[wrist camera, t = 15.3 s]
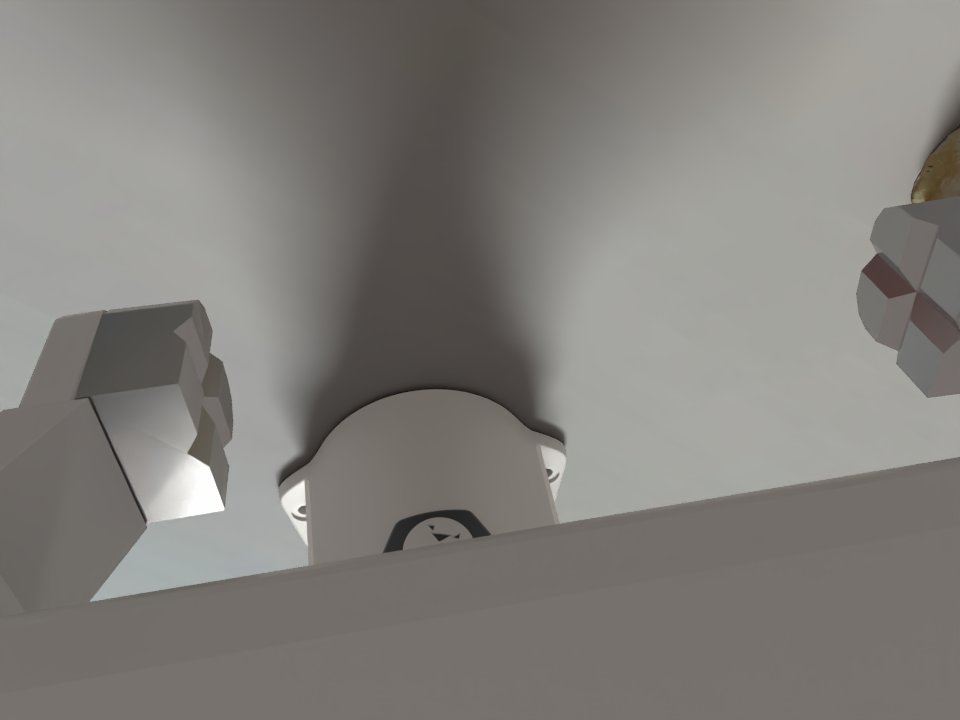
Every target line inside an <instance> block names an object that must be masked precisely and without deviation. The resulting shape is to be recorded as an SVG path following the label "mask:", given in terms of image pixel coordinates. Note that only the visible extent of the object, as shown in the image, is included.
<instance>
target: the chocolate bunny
mask: <svg viewBox="0 0 960 720" xmlns="http://www.w3.org/2000/svg"><path fill="white" fill-rule="evenodd" d="M957 196H960V126H959V127H958V129H957V130H955V131H953V132H952V133H951V134H949V135H948V136H947V138H946V139H945V140H944V141H943V142H942V143H941V144H940V146H938V147H937V148H936V150H935V151H934V152H933V153H932V154H931V155H930V156H929V157H928V159H927V160H926V162H925V164H924V167H923V168H922V171H921V173H920V175H919V176H918V178H917V180H916V182H915V184H914V187H913V191H912V194H911V202H912V204H914V203H920V202H926V201H932V200H939V199H945V198H951V197H957Z"/></svg>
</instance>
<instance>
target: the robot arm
mask: <svg viewBox="0 0 960 720" xmlns="http://www.w3.org/2000/svg"><path fill="white" fill-rule="evenodd" d="M870 241H871V243H872V245H873V247H874V248H875V250H876V252H877V254H876V255H875V257H874V258H873V259H872V260H871V261H870V262H869V263H868V264H867V265H866V266H865V267H864V268H863V270H862V271H861V275H860V279H859V284H858V288H857V293H856V296H857V304H858V312H859V316H860V318H861V320H862V322H863V325H864V327H865V329H866V330H867V331H868V332H869V334H870V335H871V336H872V337H873V338H874V339H875V341H876V342H879V343H881V344H883V345H886V346H888V347H890V348H893V349H895V350H897V351H898V355H897V362H896V364H897V365H898V366H899V367H900V368H901V369H902V371H903V372H904V373H905V374H906V375H907V376H908V377H909V378H910V379H911V380H912V381H913V383H914V384H915V385H916V386H917V387H918V388H919V389H920V390H921V391H922V392H923V393H924V395H925V396H926V397H927V398H930V397H938V396H945V395H953V394H960V196H957V197H951V198H945V199H939V200H932V201H926V202H920V203H914V204H908V205H902V206H896V207H890V208H884V209H883V210H882V212H881V213H880V215H879V216H878V218H877V219H876V221H875V223H874V227H873V230H872V234H871V237H870ZM212 332H213V330H212V327H211V325H210V322H209V319H208V316H207V313H206V310H205V307H204V306H203V305H202V304H201V302H200V301H199V300H191V301H182V302H174V303H165V304H157V305H148V306H139V307H131V308H122V309H113V310H109V311H105V310H101V311H94V312H88V313H81V314H74V315H68V316H63V317H61V318H58V319H56V320H55V322H54V323H53V326H52V328H51V331H50V333H49V335H48V338H47V340H46V343H45V345H44V347H43V350H42V352H41V355H40V357H39V359H38V362H37V364H36V367H35V369H34V371H33V374H32V376H31V379H30V381H29V383H28V386H27V388H26V391H25V393H24V396H23V398H22V400H21V403H20V405H19V408H14V409H7V410H3V411H2V412H0V720H960V457H958V458H952V459H946V460H940V461H934V462H928V463H922V464H916V465H910V466H904V467H898V468H892V469H886V470H880V471H874V472H868V473H862V474H856V475H850V476H844V477H838V478H832V479H826V480H820V481H814V482H808V483H802V484H796V485H790V486H784V487H778V488H772V489H766V490H760V491H754V492H748V493H742V494H736V495H730V496H724V497H718V498H712V499H706V500H700V501H694V502H688V503H682V504H676V505H670V506H664V507H658V508H652V509H646V510H640V511H634V512H627V513H621V514H615V515H609V516H603V517H597V518H591V519H585V520H579V521H573V522H567V523H561V524H559V519H558V515H557V511H556V507H555V500H556V497H557V494H558V490H559V487H560V483H561V480H562V477H563V473H564V470H565V467H566V463H567V456H566V450H565V446H564V445H563V443H562V442H560V441H559V440H557V439H555V438H552V437H550V436H547V435H544V434H541V433H538V432H534V431H532V430H530V429H528V428H527V427H526V426H525V425H523V424H522V423H521V422H520V421H519V420H518V419H517V418H516V417H515V416H514V415H513V414H512V413H510V412H509V411H508V410H507V409H505V408H504V407H502V406H501V405H499V404H497V403H495V402H493V401H491V400H489V399H487V398H484V397H481V396H478V395H475V394H471V393H467V392H462V391H455V390H444V389H429V390H418V391H411V392H405V393H401V394H396V395H393V396H389V397H386V398H383V399H381V400H378V401H376V402H373V403H371V404H369V405H367V406H365V407H363V408H361V409H359V410H358V411H356V412H355V413H353V414H351V415H350V416H349V417H347V418H346V419H345V420H343V421H342V422H341V423H340V424H339V425H338V426H337V427H336V428H335V429H334V430H333V431H332V432H331V433H330V434H329V435H328V436H327V438H326V439H325V441H324V442H323V444H322V445H321V447H320V448H319V450H318V452H317V453H316V455H315V456H314V458H313V459H312V460H311V461H310V462H309V463H308V464H307V465H305V466H304V467H302V468H301V469H299V470H298V471H296V472H295V473H293V474H292V475H291V476H289V477H288V478H287V479H286V480H284V481H283V483H282V484H281V485H280V487H279V498H280V504H281V506H282V508H283V509H284V511H285V513H286V514H287V516H288V517H289V519H290V521H291V522H292V524H293V525H294V527H295V529H296V530H297V532H298V533H299V535H300V537H301V538H302V540H303V541H304V543H305V545H306V546H307V548H308V560H309V566H304V567H298V568H292V569H286V570H280V571H274V572H268V573H262V574H256V575H250V576H244V577H238V578H232V579H226V580H220V581H214V582H208V583H202V584H196V585H190V586H183V587H177V588H171V589H165V590H159V591H153V592H147V593H141V594H135V595H129V596H123V597H117V598H111V599H105V600H99V601H93V602H89V601H90V600H91V599H92V598H93V596H94V595H95V594H96V593H97V591H98V590H99V589H100V587H101V586H102V585H103V584H104V582H105V581H106V580H107V578H108V577H109V576H110V575H111V573H112V572H113V571H114V570H115V568H116V567H117V566H118V564H119V563H120V562H121V561H122V559H123V558H124V557H125V556H126V554H127V553H128V552H129V550H130V549H131V548H132V547H133V545H134V544H135V543H136V542H137V540H138V539H139V538H140V536H141V535H142V534H143V533H144V531H145V530H146V529H147V526H146V524H149V523H154V522H160V521H165V520H170V519H176V518H181V517H187V516H192V515H197V514H203V513H208V512H213V511H219V510H224V509H225V500H226V491H227V482H228V472H229V465H228V462H227V459H226V456H225V452H224V449H223V448H224V447H225V446H226V445H227V444H228V443H229V441H230V440H231V439H232V431H233V411H232V398H231V393H230V388H229V383H228V379H227V375H226V372H225V369H224V365H223V362H222V361H221V360H219V359H218V358H216V357H215V356H214V355H212V354H211V353H210V347H211V340H212ZM305 505H306V506H305Z"/></svg>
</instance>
